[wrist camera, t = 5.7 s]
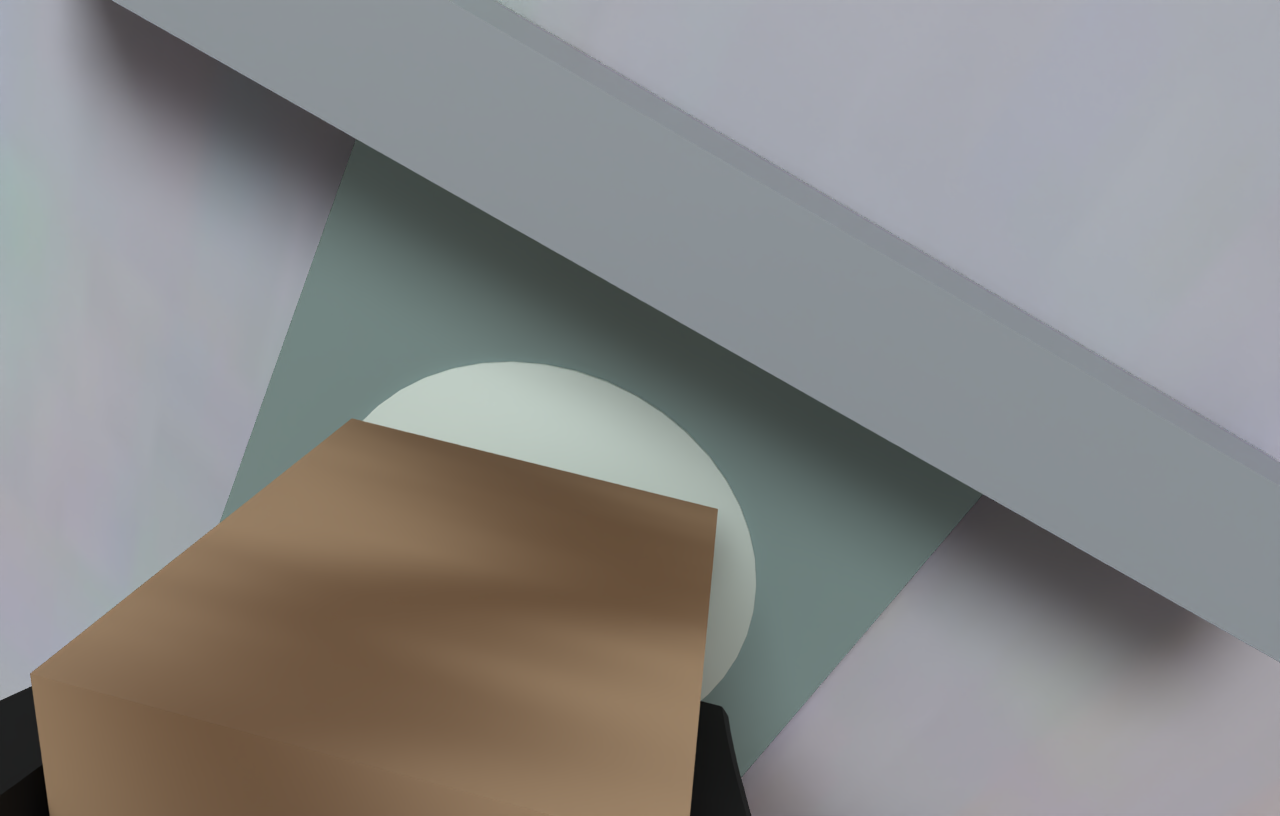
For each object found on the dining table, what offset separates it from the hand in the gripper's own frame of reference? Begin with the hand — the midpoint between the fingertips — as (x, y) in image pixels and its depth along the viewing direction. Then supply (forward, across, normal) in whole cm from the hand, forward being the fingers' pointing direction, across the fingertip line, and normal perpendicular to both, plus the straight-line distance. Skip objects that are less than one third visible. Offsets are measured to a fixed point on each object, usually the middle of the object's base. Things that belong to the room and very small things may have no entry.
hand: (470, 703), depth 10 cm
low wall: (+3, -1, -6) cm, 7 cm away
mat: (+3, 0, 0) cm, 3 cm away
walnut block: (+2, 0, 0) cm, 2 cm away
